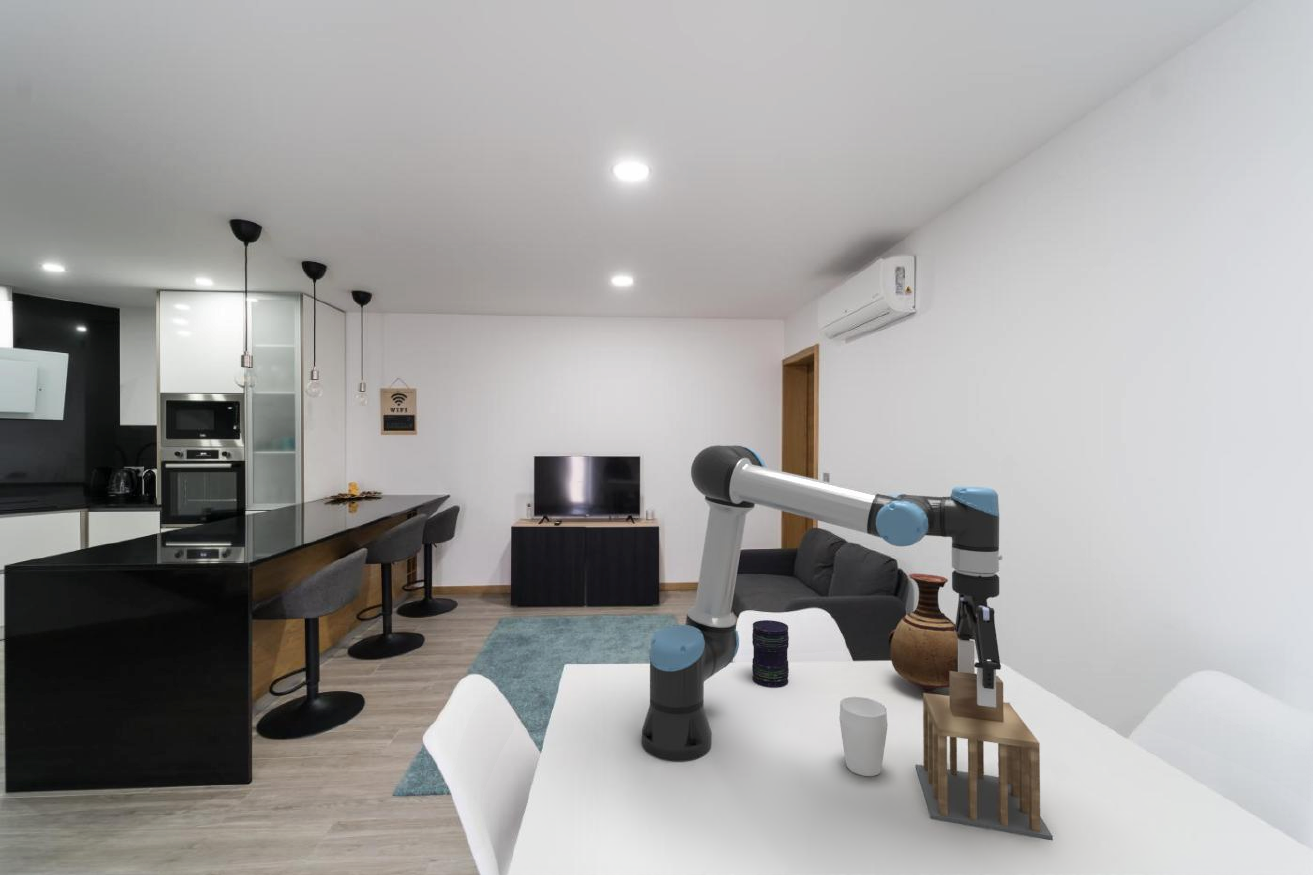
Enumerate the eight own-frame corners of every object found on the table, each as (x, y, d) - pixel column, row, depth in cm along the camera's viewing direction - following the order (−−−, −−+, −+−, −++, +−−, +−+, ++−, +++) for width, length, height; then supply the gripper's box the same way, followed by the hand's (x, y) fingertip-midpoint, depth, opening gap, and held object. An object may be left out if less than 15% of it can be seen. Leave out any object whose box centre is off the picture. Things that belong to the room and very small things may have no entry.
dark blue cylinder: (767, 670, 159) (767, 617, 159) (796, 681, 151) (796, 626, 151) (744, 679, 152) (744, 624, 153) (773, 691, 145) (773, 633, 145)
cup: (892, 783, 105) (892, 719, 105) (842, 777, 107) (842, 714, 107) (882, 757, 114) (882, 698, 114) (836, 752, 115) (836, 694, 116)
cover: (939, 814, 95) (938, 688, 95) (923, 766, 109) (922, 657, 110) (1040, 832, 91) (1039, 699, 91) (1009, 779, 105) (1008, 666, 106)
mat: (930, 818, 95) (930, 814, 95) (915, 767, 110) (915, 764, 110) (1052, 839, 90) (1052, 836, 90) (1018, 783, 105) (1018, 780, 105)
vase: (872, 678, 153) (872, 570, 154) (925, 671, 159) (924, 566, 159) (932, 713, 133) (931, 588, 133) (990, 703, 138) (989, 583, 139)
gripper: (1022, 589, 88) (1023, 724, 87) (979, 560, 112) (979, 665, 111) (969, 586, 90) (970, 717, 89) (938, 557, 114) (938, 661, 113)
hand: (975, 689), depth 100 cm, fingers open, 13 cm apart
